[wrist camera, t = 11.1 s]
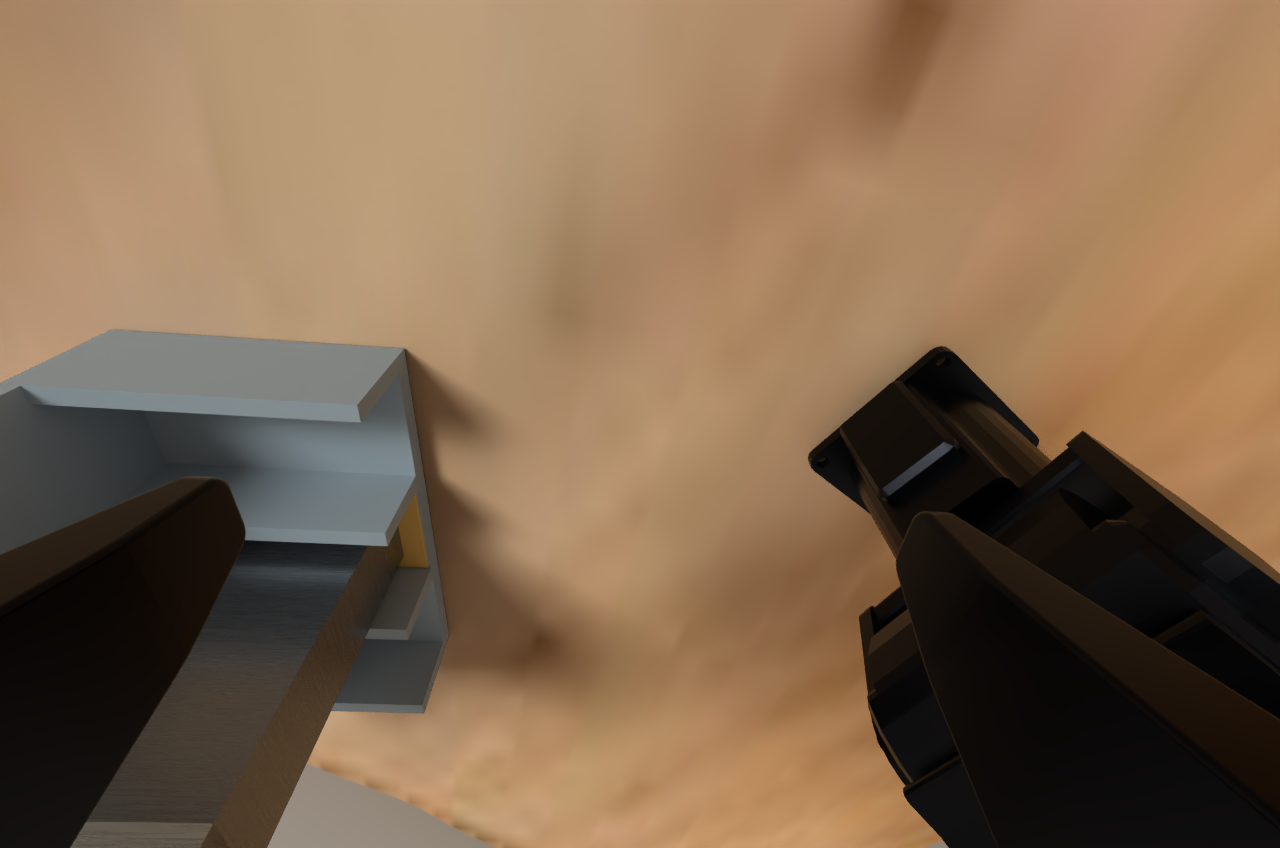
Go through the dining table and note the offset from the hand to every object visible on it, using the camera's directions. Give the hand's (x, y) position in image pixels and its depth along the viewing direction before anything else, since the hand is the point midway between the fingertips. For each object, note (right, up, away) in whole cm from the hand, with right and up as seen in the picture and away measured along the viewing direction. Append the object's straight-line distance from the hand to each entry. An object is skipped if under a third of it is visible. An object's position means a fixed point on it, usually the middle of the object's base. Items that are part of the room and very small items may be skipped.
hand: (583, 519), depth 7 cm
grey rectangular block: (-13, -3, +15) cm, 20 cm away
